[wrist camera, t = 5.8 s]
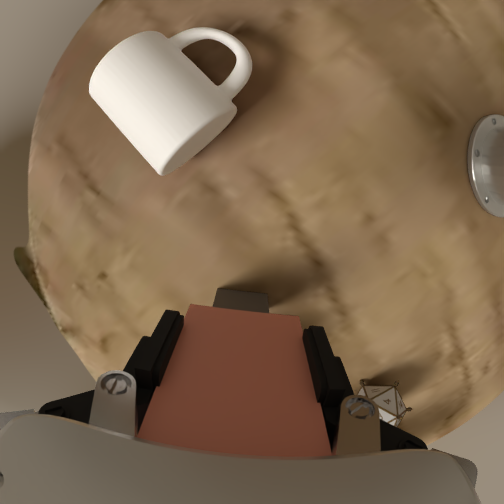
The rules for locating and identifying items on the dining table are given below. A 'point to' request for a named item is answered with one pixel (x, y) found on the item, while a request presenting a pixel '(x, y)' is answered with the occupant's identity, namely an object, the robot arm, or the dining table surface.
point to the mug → (167, 94)
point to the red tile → (238, 388)
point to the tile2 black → (241, 300)
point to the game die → (386, 402)
